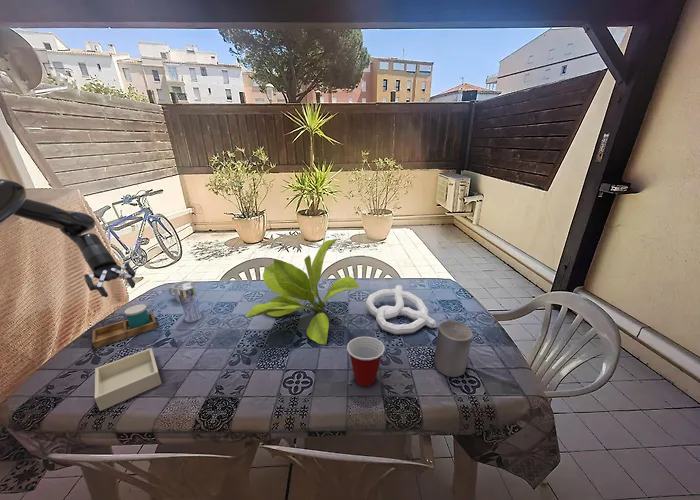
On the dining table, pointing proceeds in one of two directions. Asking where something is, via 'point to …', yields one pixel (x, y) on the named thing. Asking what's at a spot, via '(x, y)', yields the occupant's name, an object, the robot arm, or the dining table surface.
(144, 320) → the container
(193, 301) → the beer glass
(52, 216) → the robot arm
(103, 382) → the shallow cream tray
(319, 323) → the artificial plant
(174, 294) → the cup
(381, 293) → the pretzel
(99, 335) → the brown wooden divided tray
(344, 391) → the dining table surface
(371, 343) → the plastic cup
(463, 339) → the pillar candle
